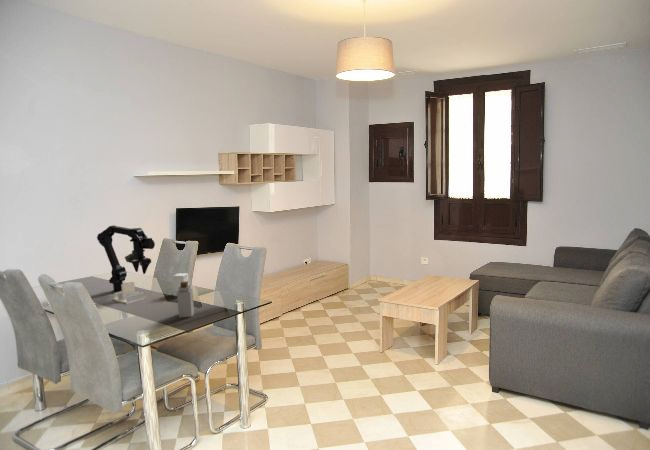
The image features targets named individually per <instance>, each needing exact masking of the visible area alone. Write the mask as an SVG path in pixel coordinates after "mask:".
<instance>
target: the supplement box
mask: <svg viewBox="0 0 650 450" xmlns="http://www.w3.org/2000/svg"><path fill="white" fill-rule="evenodd" d="M189 277H190V276H189V273H187V272H186V273H180V272H179V273H176V274H174V275H172V289H173V290H172V291H173V296H174V297H177V292H178V291H179V289H178V288H179V287H180V286H181V284H180V283H181V282H188V285H190V281H189V280H190V279H189Z"/></svg>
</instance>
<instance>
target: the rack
mask: <svg viewBox="0 0 650 450" xmlns="http://www.w3.org/2000/svg"><path fill="white" fill-rule="evenodd" d="M145 299H146V296H145V292H144V291H143V292H140V290H139V291H135V292H134V293H130V294H126V295H122V291H120V292H116V293H115V292H113V298H112V300H113V301H116V302H120V303H122V304H126V305H128V304H131V303H135V302H139V301H142V300H145Z"/></svg>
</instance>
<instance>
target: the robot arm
mask: <svg viewBox="0 0 650 450" xmlns="http://www.w3.org/2000/svg"><path fill="white" fill-rule="evenodd" d="M115 234H118V235H119V234H120V235H125V236H128V237H130V238H131V239H130V240H129V242H131V243H132V245H133V250H132V251H131V253H130V254H127V255H125V256H124V259H125V262H126V263H131V265H132V266H133V268H134V271H135V273H137V272H138V273H139V267H140V266H141V271H142V274H143V275H145V274H146V273H147V271H148V268H149V266H150V264H151V263H152V258H149V257H146V256H145V253H144V252H146V251H145V250H153V249H155V245H156V243H155V241H154V240H153V238H152V237H148V236H147V234H146V233H145V231H144V230H143V228H141V227H135V228H134V227H133V228H132V227H131V228H128V227H125V226H117V225H115V224H114V225H109V226H107V228H105V229H103V231H101V232H98V234H97V235H96V239H97V241H98V243H99V244H100V246H102V247H103V248H104V251H105V253H106V256H107V259H108V261H109V263H110V266H111V277H110V279H109V280H108V282H109V284H112V287H113V289H112V290H111V292H112V293H116V292H120V291H122V286H121V284H124V283H123V281H126V278H127V276H128V275H127V270H126V267H125V266H122V265H120V264H121V263H120V261H119V259H118V256H117V254H116V251H115V249H114V247H113V236H114V235H115Z"/></svg>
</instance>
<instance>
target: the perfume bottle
mask: <svg viewBox="0 0 650 450" xmlns="http://www.w3.org/2000/svg"><path fill="white" fill-rule="evenodd" d="M180 284H181V286H180V287H179V288H178V289H179V291H178V292H177V296H176V298H177V310H178V311H177V312H178V318H189V317H193V316H194V313H195V307H194V305H195V304H194V294H193V288H191V284H189V285H188V282H181V283H180Z"/></svg>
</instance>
